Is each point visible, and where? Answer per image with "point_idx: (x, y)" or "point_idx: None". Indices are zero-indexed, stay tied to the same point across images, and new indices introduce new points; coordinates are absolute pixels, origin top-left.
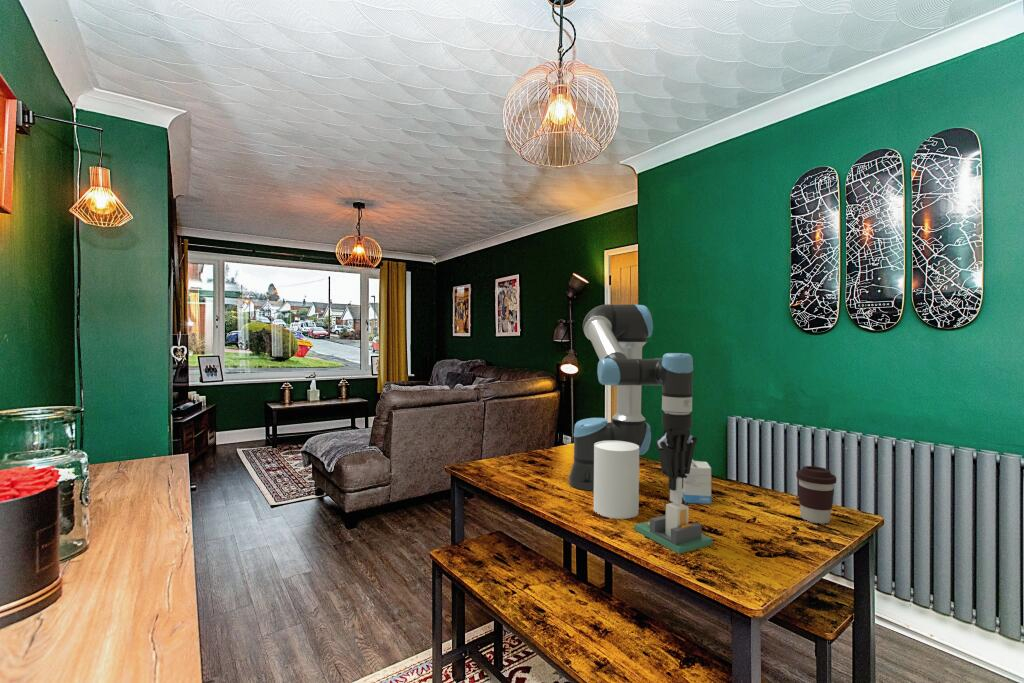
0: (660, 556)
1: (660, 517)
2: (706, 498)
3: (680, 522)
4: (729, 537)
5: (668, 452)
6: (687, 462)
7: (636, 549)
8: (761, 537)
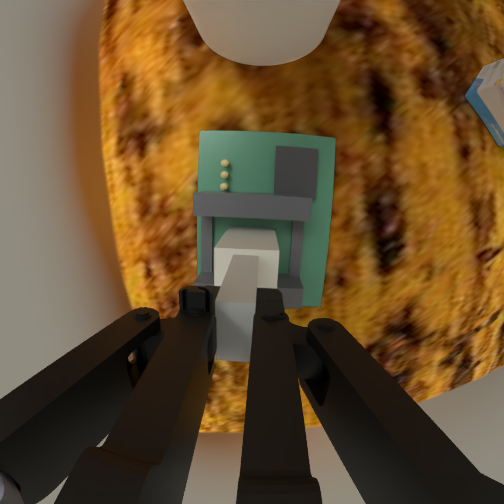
0: (155, 280)
1: (232, 202)
2: (501, 137)
3: None
4: (385, 292)
5: (58, 478)
6: (324, 424)
7: (130, 227)
8: (430, 321)
